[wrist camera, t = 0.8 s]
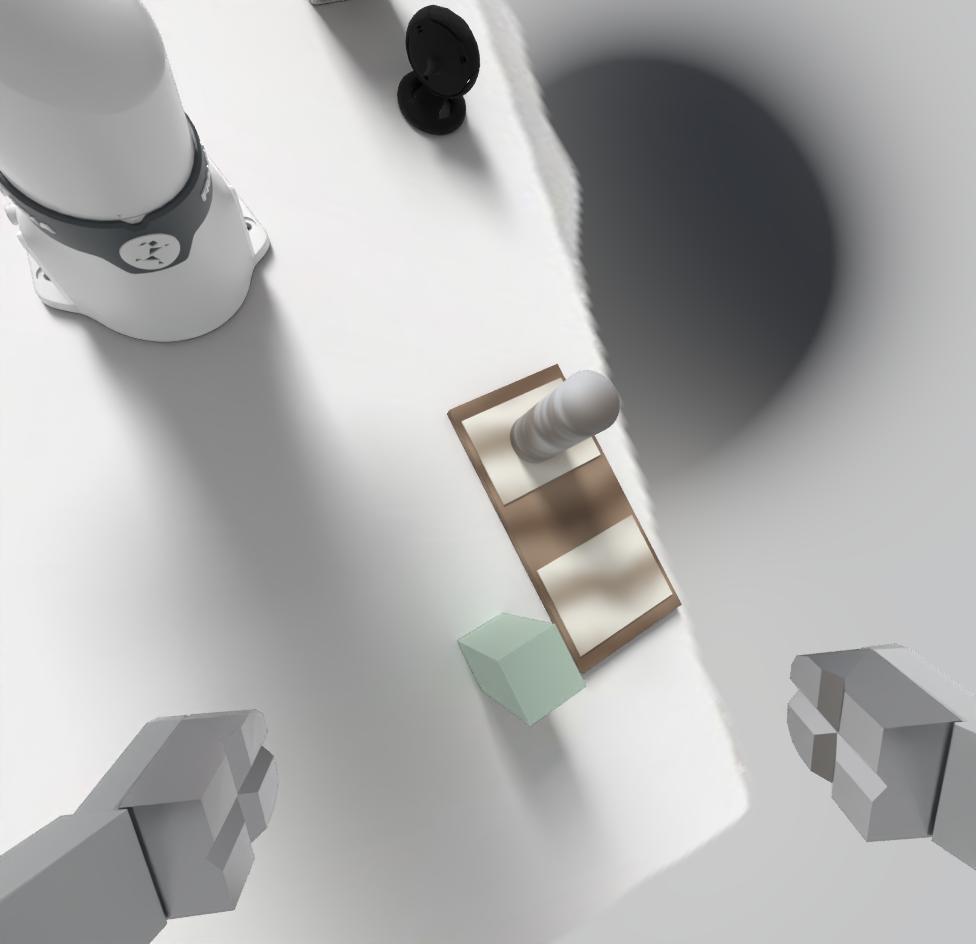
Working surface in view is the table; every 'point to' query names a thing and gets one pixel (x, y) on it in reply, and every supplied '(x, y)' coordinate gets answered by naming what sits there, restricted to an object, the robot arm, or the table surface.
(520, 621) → the sage green tall pillar
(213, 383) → the table surface
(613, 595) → the board
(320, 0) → the coffee box
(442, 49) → the webcam
